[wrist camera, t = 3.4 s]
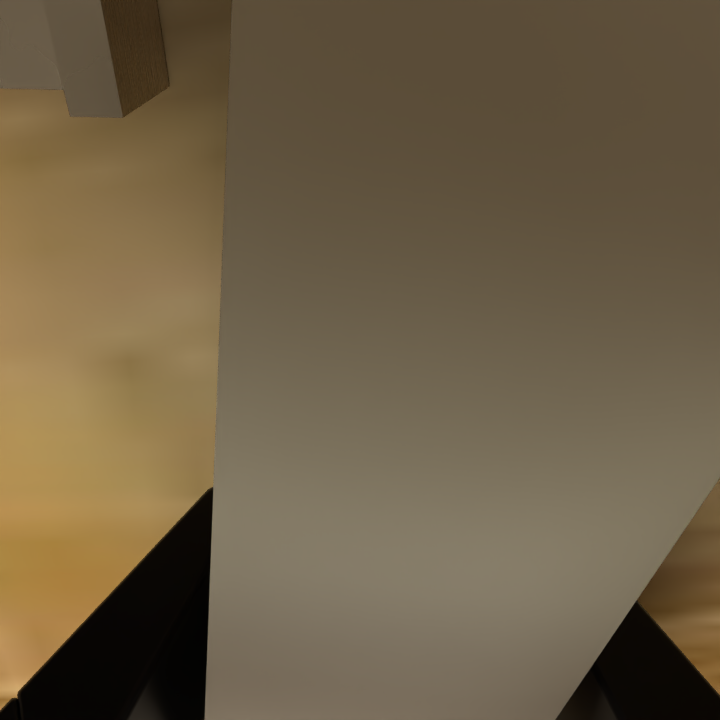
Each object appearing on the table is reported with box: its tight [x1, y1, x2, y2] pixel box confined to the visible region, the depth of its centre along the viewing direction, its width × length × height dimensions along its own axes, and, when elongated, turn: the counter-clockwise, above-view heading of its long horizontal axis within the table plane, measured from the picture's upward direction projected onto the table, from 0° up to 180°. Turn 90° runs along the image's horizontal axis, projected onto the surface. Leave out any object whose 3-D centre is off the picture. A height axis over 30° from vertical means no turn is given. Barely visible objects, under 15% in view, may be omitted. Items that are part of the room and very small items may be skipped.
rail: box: [205, 0, 720, 720], centre depth 8 cm, size 16×4×4 cm, turn 171°
